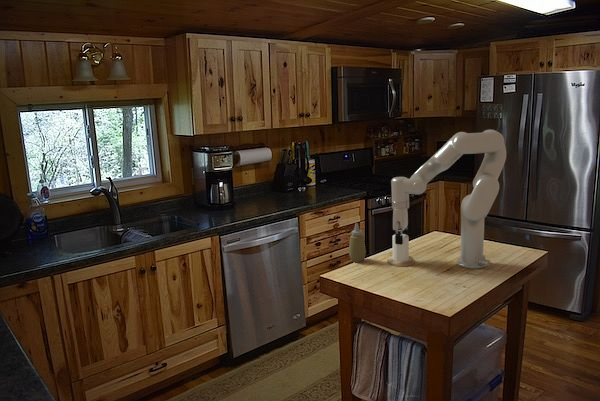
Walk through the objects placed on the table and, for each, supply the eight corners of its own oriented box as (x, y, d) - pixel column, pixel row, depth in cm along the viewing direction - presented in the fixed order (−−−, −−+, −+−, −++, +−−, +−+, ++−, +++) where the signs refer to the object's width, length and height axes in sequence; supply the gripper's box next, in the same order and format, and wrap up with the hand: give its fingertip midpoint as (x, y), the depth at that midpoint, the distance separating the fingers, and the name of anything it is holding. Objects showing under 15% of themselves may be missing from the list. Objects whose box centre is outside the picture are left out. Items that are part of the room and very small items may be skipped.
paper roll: (411, 259, 220) (411, 236, 218) (400, 262, 216) (400, 239, 214) (400, 255, 226) (400, 233, 224) (389, 258, 222) (389, 236, 220)
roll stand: (419, 262, 220) (419, 240, 218) (400, 268, 213) (400, 245, 211) (399, 256, 230) (399, 235, 228) (381, 261, 223) (381, 240, 221)
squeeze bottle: (368, 259, 228) (368, 222, 224) (361, 264, 221) (360, 226, 217) (353, 256, 232) (352, 220, 228) (345, 261, 225) (344, 224, 222)
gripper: (397, 200, 225) (398, 235, 229) (387, 208, 210) (388, 246, 213) (413, 200, 222) (413, 236, 225) (404, 209, 207) (405, 247, 210)
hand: (401, 240), depth 219 cm, fingers open, 9 cm apart
